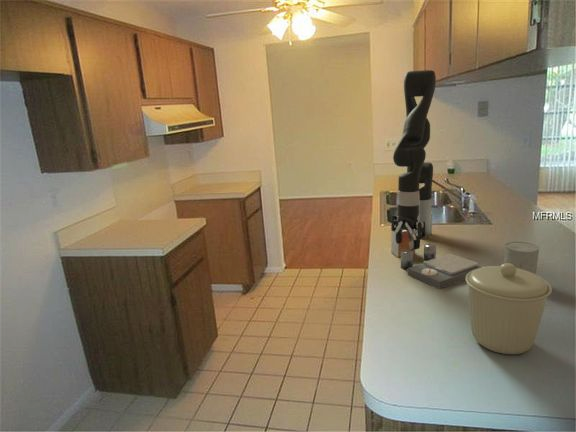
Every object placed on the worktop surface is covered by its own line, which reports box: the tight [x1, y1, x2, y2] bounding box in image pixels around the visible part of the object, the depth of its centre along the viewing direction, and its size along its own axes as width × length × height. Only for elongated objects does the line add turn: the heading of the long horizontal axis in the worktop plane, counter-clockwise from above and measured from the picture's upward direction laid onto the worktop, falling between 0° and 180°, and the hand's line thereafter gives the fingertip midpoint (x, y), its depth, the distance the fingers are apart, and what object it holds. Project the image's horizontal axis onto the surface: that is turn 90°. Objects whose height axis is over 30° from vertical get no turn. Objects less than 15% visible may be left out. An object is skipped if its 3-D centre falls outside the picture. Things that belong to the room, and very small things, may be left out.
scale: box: [407, 263, 482, 289], centre depth 139 cm, size 21×14×3 cm, turn 119°
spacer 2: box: [423, 242, 437, 262], centre depth 152 cm, size 4×4×6 cm
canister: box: [464, 262, 553, 356], centre depth 96 cm, size 18×18×21 cm
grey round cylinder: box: [503, 241, 540, 275], centre depth 129 cm, size 10×10×12 cm
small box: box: [390, 229, 416, 258], centre depth 159 cm, size 8×6×10 cm
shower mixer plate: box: [422, 253, 480, 275], centre depth 140 cm, size 14×12×1 cm
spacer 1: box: [400, 250, 414, 271], centre depth 146 cm, size 4×4×6 cm
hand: (407, 245), depth 144 cm, fingers open, 8 cm apart
